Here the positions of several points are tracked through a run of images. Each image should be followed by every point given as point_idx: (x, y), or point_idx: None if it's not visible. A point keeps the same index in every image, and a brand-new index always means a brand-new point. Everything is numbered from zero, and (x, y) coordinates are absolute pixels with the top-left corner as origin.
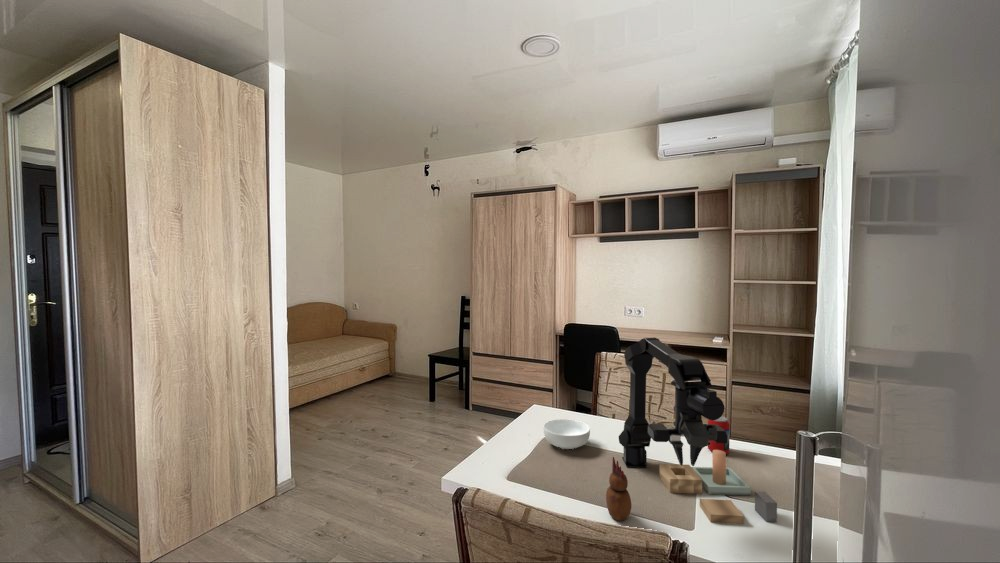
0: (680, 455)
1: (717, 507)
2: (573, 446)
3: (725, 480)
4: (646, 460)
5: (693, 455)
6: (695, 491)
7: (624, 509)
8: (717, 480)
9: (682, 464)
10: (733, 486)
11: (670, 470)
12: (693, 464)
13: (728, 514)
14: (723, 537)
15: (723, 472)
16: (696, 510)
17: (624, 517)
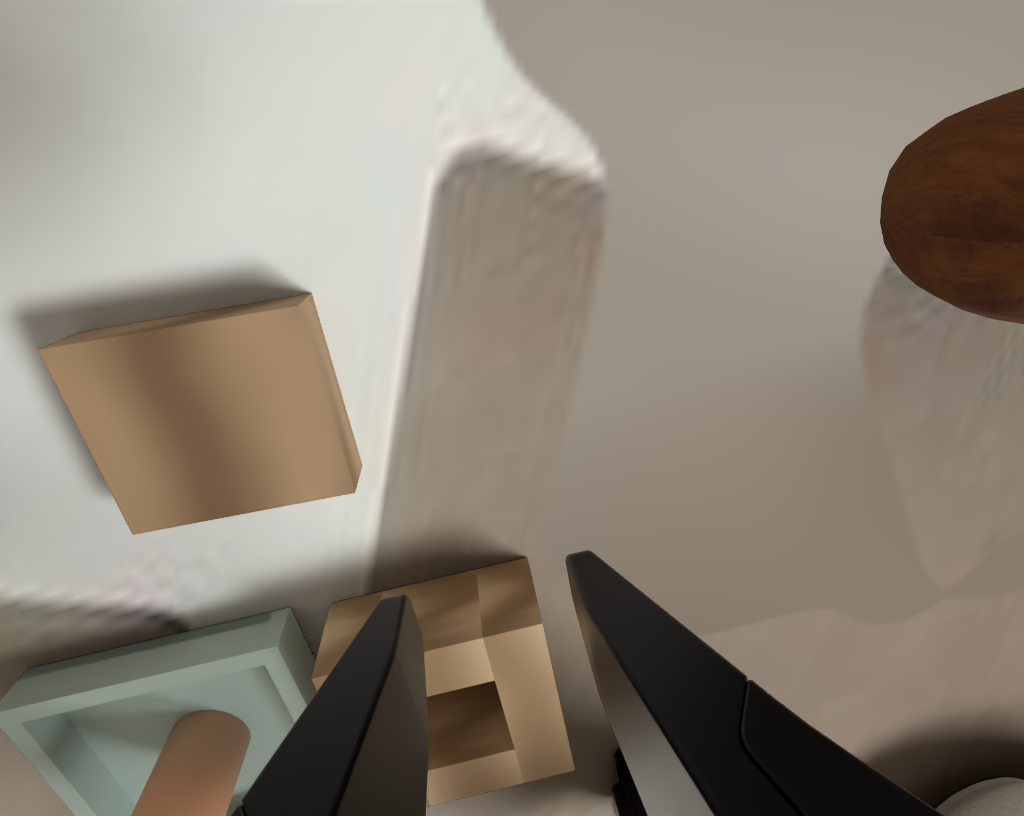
0: (689, 670)
1: (236, 414)
2: (1013, 798)
3: (162, 749)
4: (616, 802)
5: (372, 768)
6: (369, 602)
7: (1019, 93)
8: (214, 734)
9: (574, 561)
10: (106, 694)
11: (517, 722)
12: (389, 610)
13: (157, 340)
14: (235, 111)
15: (147, 799)
16: (390, 411)
17: (945, 118)
